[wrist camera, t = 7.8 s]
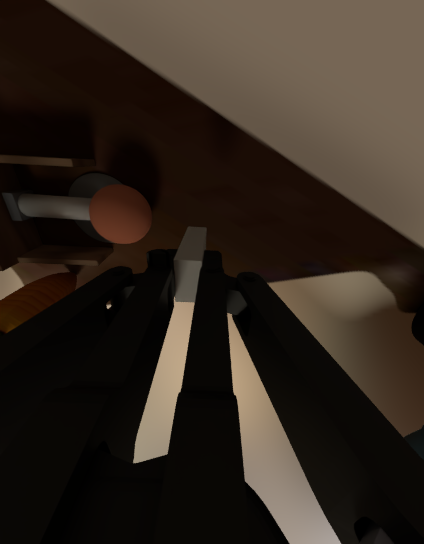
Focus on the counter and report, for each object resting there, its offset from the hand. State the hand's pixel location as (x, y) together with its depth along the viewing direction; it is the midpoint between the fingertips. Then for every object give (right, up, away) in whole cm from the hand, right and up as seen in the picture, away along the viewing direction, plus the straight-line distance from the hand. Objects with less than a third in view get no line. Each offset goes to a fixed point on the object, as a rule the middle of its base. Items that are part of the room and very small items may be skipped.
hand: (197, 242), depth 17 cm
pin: (-12, +5, +6) cm, 14 cm away
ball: (-8, +3, +4) cm, 10 cm away
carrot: (-18, -3, +11) cm, 21 cm away
